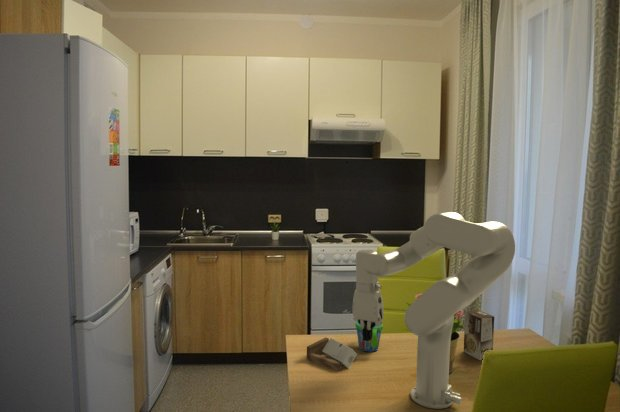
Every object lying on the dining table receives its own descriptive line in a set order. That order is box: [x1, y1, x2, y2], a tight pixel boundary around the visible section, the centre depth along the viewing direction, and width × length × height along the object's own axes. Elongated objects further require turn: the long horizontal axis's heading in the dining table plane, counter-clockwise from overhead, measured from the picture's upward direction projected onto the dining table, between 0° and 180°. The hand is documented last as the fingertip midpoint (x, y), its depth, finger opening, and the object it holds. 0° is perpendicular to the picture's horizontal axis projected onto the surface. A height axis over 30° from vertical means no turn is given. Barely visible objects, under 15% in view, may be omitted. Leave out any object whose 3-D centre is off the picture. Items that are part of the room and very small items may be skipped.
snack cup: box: [355, 321, 384, 353], centre depth 168 cm, size 16×10×10 cm
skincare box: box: [322, 337, 358, 369], centre depth 155 cm, size 6×4×12 cm
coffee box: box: [463, 309, 495, 361], centre depth 163 cm, size 9×6×16 cm
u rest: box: [306, 337, 357, 372], centre depth 157 cm, size 14×12×5 cm
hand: (367, 339), depth 147 cm, fingers closed
